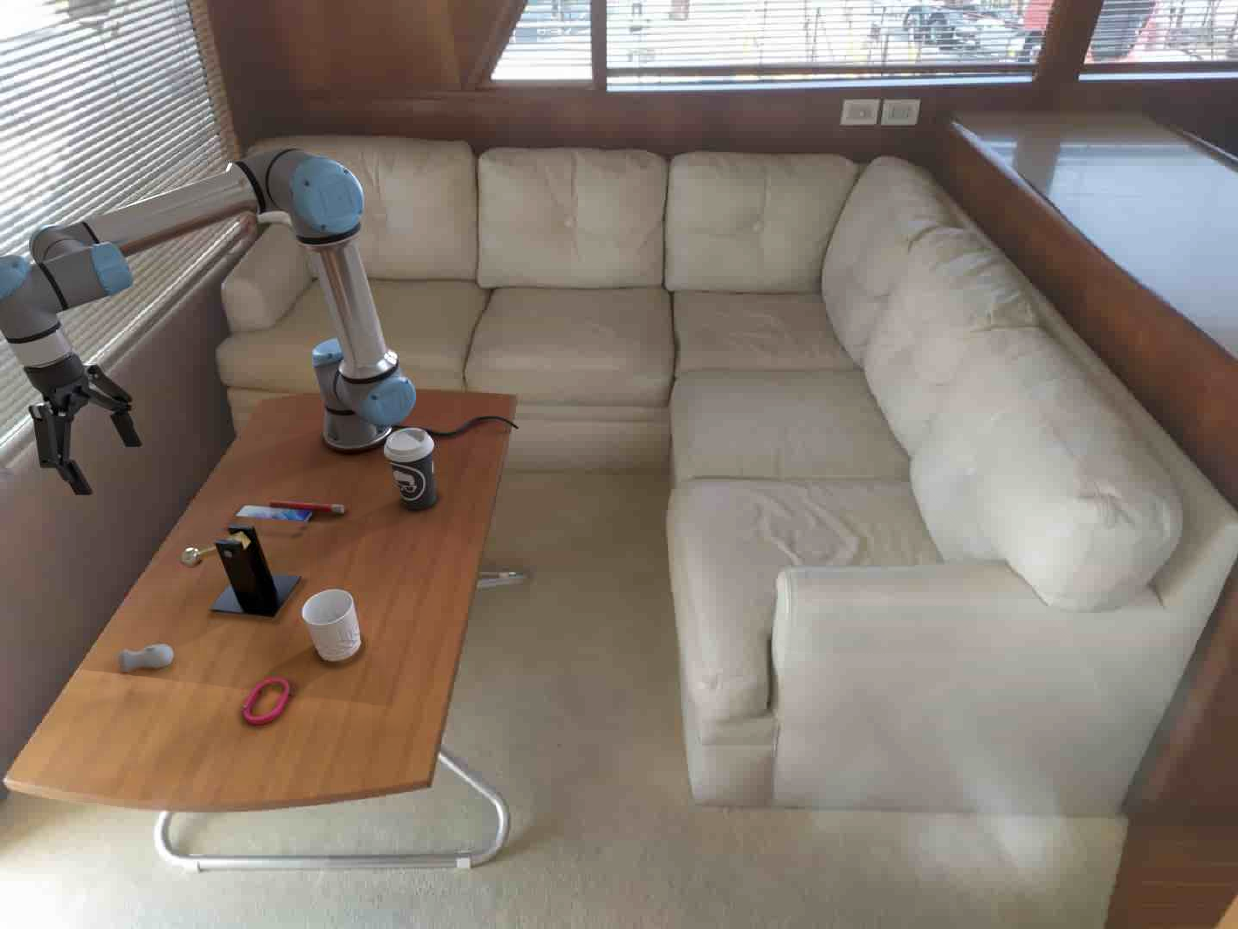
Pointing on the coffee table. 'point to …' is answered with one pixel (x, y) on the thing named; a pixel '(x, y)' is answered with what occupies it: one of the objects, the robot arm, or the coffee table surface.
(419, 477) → the coffee cup
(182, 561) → the silver ball pendulum
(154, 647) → the smooth white sculpture
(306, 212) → the robot arm
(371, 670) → the coffee table surface
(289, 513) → the smartphone
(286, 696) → the fitness band
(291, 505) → the red road flare
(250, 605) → the bracket
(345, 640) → the white cup
